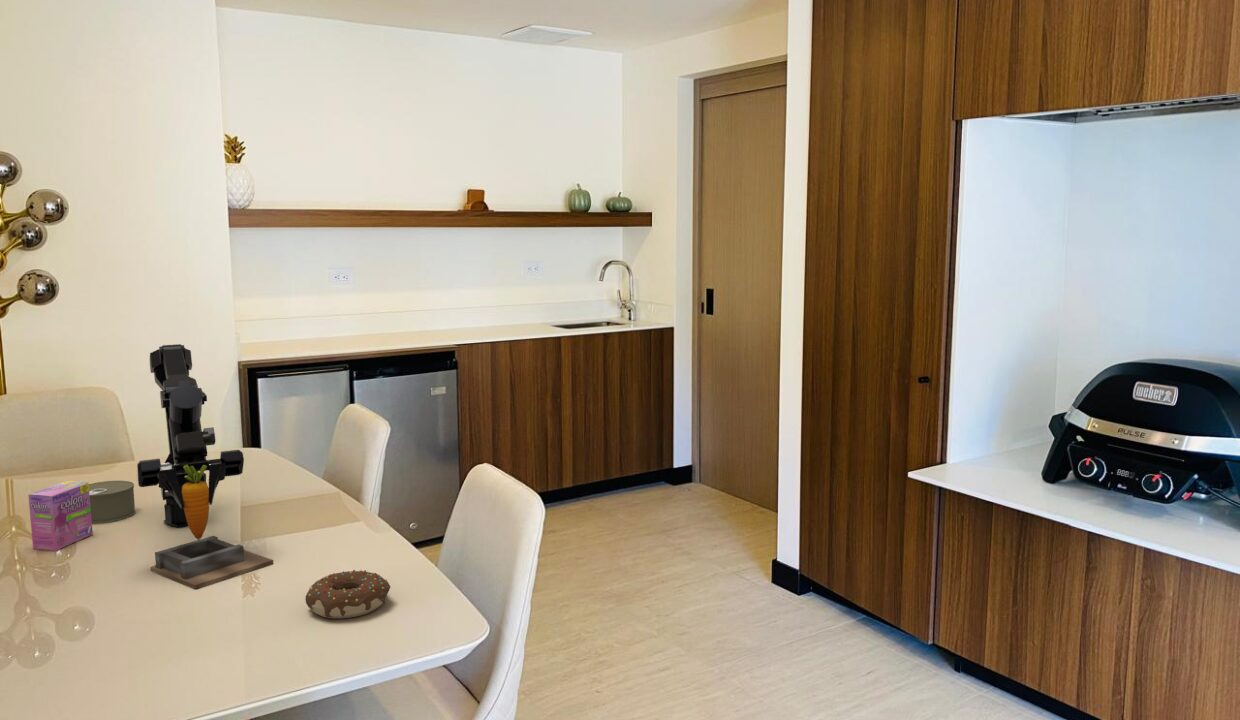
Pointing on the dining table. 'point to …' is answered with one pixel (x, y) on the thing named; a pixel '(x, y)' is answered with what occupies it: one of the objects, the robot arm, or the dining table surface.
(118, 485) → the can
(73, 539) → the box
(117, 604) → the dining table surface
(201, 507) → the carrot
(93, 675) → the dining table surface
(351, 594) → the donut
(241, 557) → the grey frame on base
